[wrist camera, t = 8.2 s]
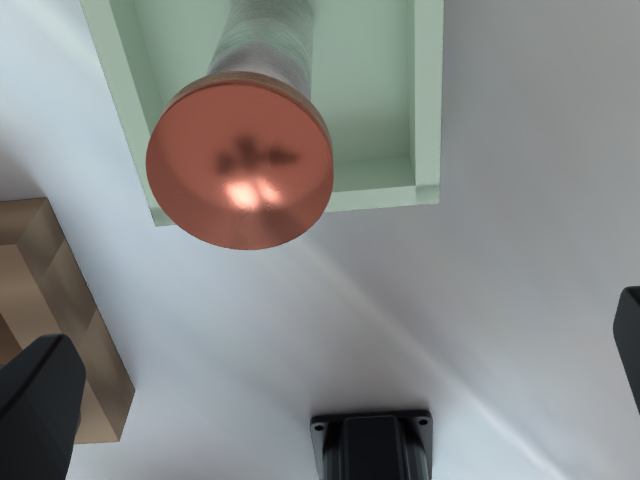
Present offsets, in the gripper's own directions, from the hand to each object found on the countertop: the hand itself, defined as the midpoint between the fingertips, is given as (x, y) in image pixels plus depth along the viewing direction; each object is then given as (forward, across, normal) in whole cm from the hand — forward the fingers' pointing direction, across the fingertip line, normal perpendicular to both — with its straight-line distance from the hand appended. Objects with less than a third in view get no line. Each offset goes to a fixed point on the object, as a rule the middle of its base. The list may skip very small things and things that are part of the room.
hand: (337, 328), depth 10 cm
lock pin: (+12, +2, -1) cm, 12 cm away
